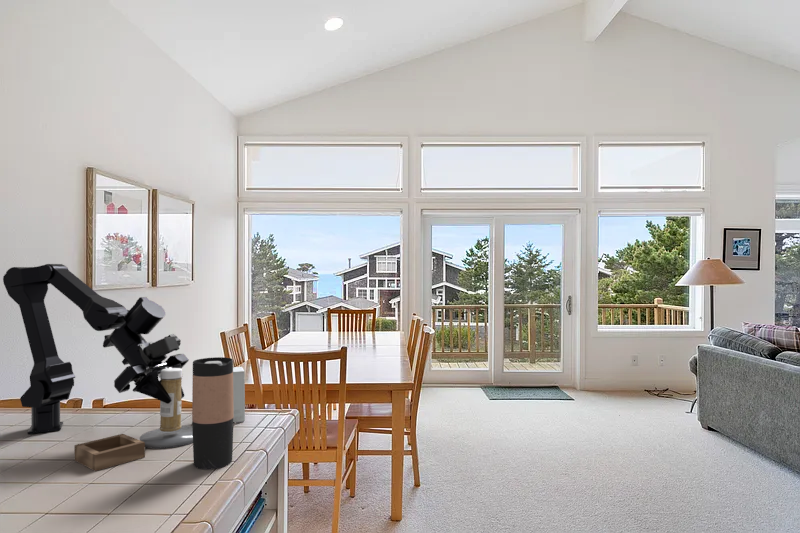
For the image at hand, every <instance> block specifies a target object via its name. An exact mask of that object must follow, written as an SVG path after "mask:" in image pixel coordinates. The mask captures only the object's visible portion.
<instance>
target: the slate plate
mask: <svg viewBox="0 0 800 533" xmlns="http://www.w3.org/2000/svg"><path fill="white" fill-rule="evenodd" d="M139 440H140V441H143V442H145V448H147V449H148V448H149V449H172V448H177V447H183V446H188V445H191V444H193V430H192V425H181V429H179V430H177V431H171V432H163V431H161V430H160V427H159V428H156V429H152V430H149V431H146V432H144V433H143V434H141V435H140V436H139Z"/></svg>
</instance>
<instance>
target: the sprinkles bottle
mask: <svg viewBox="0 0 800 533" xmlns="http://www.w3.org/2000/svg"><path fill="white" fill-rule="evenodd" d="M183 372H184V371H183V368H167V369H162V370H161V375H160V378H161V379H160V378H159V379H160V380H161V384H162V386H163V387H164V389H165V390H166V392H167V393H168V395H169V396H170V398H171V400H172V401H171V402H170V403H169V404H167V403H165V402H162V401H160V400H159V401H160V402H159V403H160V404H159V406H160V407H159V408H160V409H159V411H160V412H159V415H160V419H159V420H160V421H159V422H160V423H159V424H160V426H159V428H160V430H161V431H163V432H171V431H177V430H179V429H181V426H182V399H181V396H182V394H181V386H182V381H183V380H182V379H183V378H182V377H183V375H184V373H183Z"/></svg>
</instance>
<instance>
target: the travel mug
mask: <svg viewBox="0 0 800 533" xmlns="http://www.w3.org/2000/svg"><path fill="white" fill-rule="evenodd" d="M233 367H234V359H233V358H231V357H225V356H224V357H221V356H219V357H205V358H199V359H195V360H193V362H192V394H191V395H192V399H191V400H192V402H191V403H192V407H191V408H192V410H191V413H192V414H191V417H192V418H191V419H192V420H191V421H192V422H191V424H192V425H191V426H192V430H193V443H192V452H193V454H192V455H193V456H192V457H193V466H194V468H196V469H199V470H216V469H220V467H221V468H224V467H226V465H227V466H228V464H229V465H230V464H232V462H233V453H234V452H233V446H234V423H233V421H234V418H233V417H234V406H233ZM223 466H224V467H223Z"/></svg>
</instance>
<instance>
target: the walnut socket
mask: <svg viewBox="0 0 800 533" xmlns="http://www.w3.org/2000/svg"><path fill="white" fill-rule="evenodd" d="M73 449H74V451H73V452H74V454H73V455H74V457H73V458H74V460H73V461H75V462H77V463H78V464H80V465H83V466H85V467H87V468H89V469H90V470H93V471H95V472H97V471H101V470H105V469H108V468H111V467H116V466H120V465H122V464H126V463H129V462H133V461H137V460H141V459H143V458H146V447H145V442H143V441H140V439H138V438H135V437H132V436H129V435H127V434H125V433H120V434H117V435H112V436H111V435H110V436H107V437H104V438H99V439H95V440H91V441H86V442H82V443H78V444H74V448H73Z"/></svg>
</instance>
